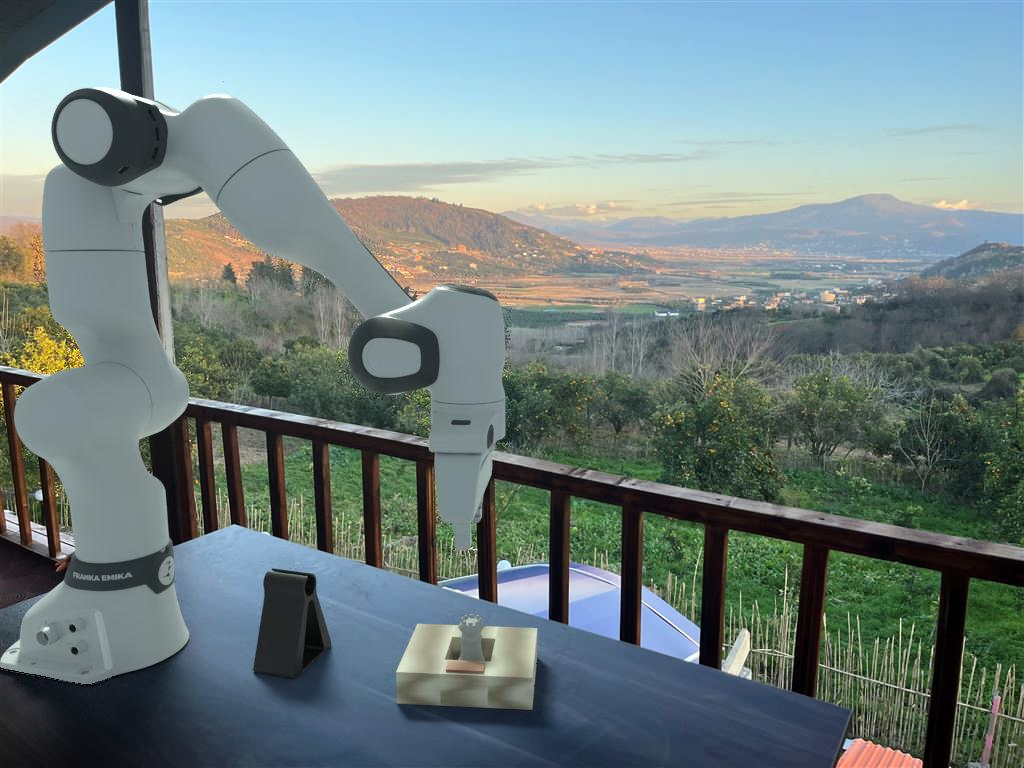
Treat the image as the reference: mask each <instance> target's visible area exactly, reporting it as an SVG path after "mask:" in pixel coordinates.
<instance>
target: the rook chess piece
mask: <svg viewBox="0 0 1024 768" xmlns="http://www.w3.org/2000/svg"><path fill="white" fill-rule="evenodd" d="M457 625H458V628H459V629H460V631H461V632H462V635H461V636H460V639H461V641H462V648H461V655H460V658H459V659H458V660H466V661H485V658H484V656H483V654H482V647H481V640H482V638H483V636H482V635H481V631H482V629H483V628H484V626H485V624H484V623H483V621H482V617H481V615H479V614H476V615H474V613H470V614H469V617H468V615H467V614H465V615H463V616H462V617H461V618H460V622H459V623H458V624H457Z"/></svg>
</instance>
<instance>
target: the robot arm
mask: <svg viewBox="0 0 1024 768" xmlns="http://www.w3.org/2000/svg"><path fill="white" fill-rule="evenodd" d="M50 129H51V131H50V133H51V140H52V145H53V148H54V150H55V152H56V154H57V156H58V157H59V159H60V161H61V163H60V164H58V165H56V166H54V167H53V168H52V169H51V170H50V171H48V173H47V175H46V177H45V180H44V186H43V191H42V192H43V193H42V194H43V195H42V204H41V205H42V207H41V231H42V232H41V233H42V235H41V237H42V248H43V258H44V266H45V267H44V268H45V275H46V285H47V293H48V302H49V309H50V313H51V315H52V317H53V319H54V321H55V322H56V323H58V324H59V326H60V327H61V326H62V328H64V329H65V330H67V331H68V332H69V334H70V335H71V336H72V338H73V339H74V340H75V343H76V345H77V346H78V349H79V351H80V354H81V357H82V359H83V364H84V366H83V365H82V366H78V367H77V366H76V367H73V368H72V367H71V368H67V369H62V370H59V371H57V372H55V373H52V374H51V375H48V376H46V377H44V378H43V379H40V380H39V381H37V382H35V383H33V384H31V385H29V386H28V387H27V388H26V389H25V390H24V391H22V393H20V396H19V397H18V399H17V401H16V404H15V407H14V412H13V417H14V418H13V419H14V420H13V421H14V427H15V431H16V433H17V435H18V437H19V438H20V440H21V442H22V443H23V445H24V446H26V448H27V449H28V450H29V451H31V453H33V454H35V455H36V456H37V457H39V458H42V459H44V460H45V461H46V462H47V463H49V464H50V466H51V467H52V468H53V470H54V471H55V473H56V474H57V477H58V478H59V480H60V482H61V484H62V487H63V488H64V489H63V490H64V491H65V494H66V498H67V501H68V505H69V506H68V507H69V513H70V519H71V520H70V521H71V527H72V535H73V544H74V551H73V552H71V553H69V554H68V555H66V557H65V558H63V559H62V560H60V561H59V562H57V563H55V566H59V567H57V569H56V570H55V571H56V572H60V571H62V570H63V569H65V568H67V569H66V572H65V576H64V579H63V580H62V581H61V582H60V583H59V584H58V585H56V586H55V587H54V588H52V589H51V590H50V591H49V592H48V593H46V594H45V595H44V596H43V597H42V598H40V599H39V600H38V601H37V602H35V603H34V604H33V605H32V606H31V607H30V608H29V609H28V610H27V612H25V615H24V616H23V618H22V621H21V626H20V633H19V639H18V640H17V641H16V642H14V643H13V644H12V645H11V646H10V647H8V649H6V650H5V652H4V653H3V654H2V656H1V657H0V667H1V668H4V669H9V670H15V671H19V672H24V673H29V674H36V675H41V676H46V677H50V678H49V679H51V678H54V679H53V680H56V679H59V680H58V681H62V680H63V682H67V681H68V683H72V682H75V683H74V684H78V683H81V684H80V685H83V684H91V685H93V684H92V683H95V682H98V681H101V682H103V681H105V679H106V680H108V679H110V678H112V676H113V677H115V676H117V675H122V674H126V673H129V672H133V671H137V670H140V669H144V668H148V667H150V666H153V665H155V664H157V663H160V662H162V661H164V660H167V659H168V658H169V657H171V656H174V655H175V654H176V653H177V652H179V651H180V650H182V648H184V647H185V645H186V644H187V643H188V642H189V639H190V632H189V630H188V629H189V628H188V627H187V626H186V623H185V620H184V617H183V615H182V614H183V613H182V612H181V608H180V604H179V601H178V597H177V591H176V587H175V577H176V576H175V575H176V573H175V572H176V571H175V570H176V565H175V563H176V562H175V553H174V552H175V550H174V544H173V540H172V538H170V533H169V522H168V520H169V519H168V505H167V496H166V488H165V486H164V484H163V483H162V481H161V480H160V479H159V478H157V477H156V476H154V475H152V474H150V473H149V471H148V469H147V467H146V465H145V462H144V460H143V458H142V454H141V450H140V445H139V444H140V440H142V439H144V438H147V437H148V436H149V437H150V436H153V435H154V434H157V433H159V432H161V431H163V430H165V429H166V428H168V427H169V426H171V425H172V423H174V422H175V421H176V420H177V419H178V418H179V417H181V415H183V413H184V412H185V411H186V409H187V407H188V404H189V401H190V395H191V394H190V393H191V392H190V386H189V382H188V380H187V378H186V375H185V373H183V371H182V370H181V369H180V368H179V367H178V366H177V365H176V364H175V363H173V361H172V360H171V359H170V357H169V356H168V353H167V351H166V350H165V349H166V348H165V347H164V344H163V342H162V339H161V336H160V333H159V332H158V329H157V325H156V323H155V319H154V316H153V312H152V307H151V299H150V291H149V290H150V289H149V281H148V273H147V271H148V270H147V263H146V253H145V243H144V235H143V215H144V212H145V210H146V209H147V207H148V206H149V205H150V204H151V203H154V204H155V205H158V206H161V207H166V206H168V205H170V204H173V203H175V202H178V201H180V200H183V199H187V198H190V197H193V196H196V195H199V194H201V193H203V192H204V193H205V194H207V196H208V198H209V199H210V200H211V201H212V202H213V204H214V205H215V206H216V207H217V209H218V210H219V211H220V212H221V214H222V215H223V217H224V218H225V219H226V220H227V221H228V222H229V224H231V226H232V227H233V228H234V229H235V230H236V231H237V232H238V233H239V234H240V235H242V236H243V237H244V238H245V239H247V241H248V242H250V243H251V244H252V245H253V246H254V247H256V248H258V249H259V250H260V251H262V252H264V253H266V254H269V255H272V256H275V257H278V258H281V259H284V260H287V261H291V262H294V263H296V264H299V265H302V267H303V266H304V267H306V268H308V269H310V270H313V271H315V272H316V273H318V274H320V275H321V276H323V277H324V278H326V279H327V280H328V281H330V282H331V283H332V284H333V286H335V287H336V288H337V289H338V290H339V291H340V292H341V293H342V294H343V296H344V297H346V299H348V301H349V303H351V304H352V306H354V308H355V309H356V310H357V311H358V312H359V313H360V315H362V316H363V318H364V319H365V320H364V322H361V324H359V325H358V326H357V328H356V329H355V330H354V332H353V333H352V334H351V337H350V340H349V343H348V347H347V359H348V364H349V367H350V371H351V372H352V375H353V376H354V377H355V379H356V381H357V382H358V383H359V384H361V385H362V387H364V388H365V389H367V390H369V391H370V392H373V393H375V394H378V395H387V396H393V395H394V396H395V395H402V394H404V393H407V392H413V391H418V390H426V391H429V393H430V429H429V434H428V450H429V452H431V453H434V480H435V489H436V500H437V501H436V502H437V509H438V515H439V517H440V520H441V521H442V522H443V523H451V527H452V532H453V535H454V548H455V549H456V550H457V551H465V552H466V551H469V550H470V549H471V547H472V543H473V541H472V538H473V537H472V536H473V534H472V533H473V532H472V523H477V524H478V523H479V522H481V519H482V518H483V502H484V494H485V491H486V488H487V487H488V484H489V482H490V479H491V476H492V471H493V452H495V450H496V449H495V448H496V443H497V442H498V441H500V440H503V439H504V438H505V436H506V391H505V388H504V385H503V371H504V367H505V365H506V364H505V363H506V335H505V333H506V332H505V324H504V323H505V321H504V316H503V315H504V314H503V309H502V306H501V303H500V300H499V299H498V298H497V296H495V295H494V294H493V293H492V292H490V291H489V290H487V289H483V288H479V287H475V286H471V285H466V284H457V283H447V282H445V283H441V284H437V285H435V287H434V288H433V289H432V290H430V291H429V292H428V293H426V294H425V295H423V296H422V297H420V298H418V299H415V298H414V297H413V296H412V295H410V294H409V293H408V292H407V291H406V290H405V289H404V288H403V287H402V286H401V284H400V283H399V282H398V281H397V280H396V278H394V277H393V276H392V274H391V273H390V272H389V271H388V270H387V268H386V267H385V266H384V265H383V264H382V263H381V262H380V261H379V260H378V259H377V257H376V256H375V255H374V254H373V252H372V251H370V250H369V248H368V247H367V246H366V245H365V244H364V243H363V242H362V240H361V239H359V237H358V236H357V235H356V234H355V233H354V232H353V230H352V229H351V227H350V226H349V225H348V223H347V222H346V221H345V219H344V218H343V216H342V215H341V214H340V212H338V210H337V209H336V208H335V207H334V205H333V204H332V202H331V201H330V200H329V199H328V197H327V196H326V194H325V193H324V191H323V190H322V189H321V187H320V186H319V184H318V182H316V180H315V178H313V176H312V175H311V173H310V172H309V171H308V170H307V168H306V167H305V166H304V164H303V163H302V162H301V160H300V159H299V157H297V155H296V154H295V153H294V152H293V151H292V149H291V148H290V147H289V146H288V145H287V144H286V142H285V141H284V140H283V139H282V137H280V136H279V135H278V133H277V132H275V131H274V129H272V127H270V125H268V124H267V122H265V121H264V120H263V118H261V117H260V116H259V115H258V114H257V113H256V112H255V111H253V110H252V109H251V108H250V107H249V106H247V105H246V104H245V103H244V102H242V101H241V100H240V99H238V98H236V97H234V96H232V95H229V94H225V93H223V94H221V93H216V94H210V95H206V96H203V97H201V98H199V99H197V100H196V101H194V102H192V103H191V104H190V105H189V106H187V108H185V109H184V110H183V111H180V110H179V109H177V108H175V107H172V106H171V105H169V104H166V103H164V102H161V101H158V100H156V99H152V98H146V97H145V98H144V97H141V96H137V95H132V94H130V93H128V92H125V91H123V90H119V89H115V88H108V87H82V88H79V89H76V90H73V91H72V92H70V93H68V94H67V95H65V96H64V97H63V99H61V101H60V102H59V104H58V105H56V108H55V111H54V113H53V116H52V120H51V128H50ZM19 672H18V673H19ZM24 673H23V674H24ZM29 674H28V675H29ZM107 678H108V679H107ZM102 680H103V681H102ZM98 683H99V682H98ZM95 684H96V683H95Z"/></svg>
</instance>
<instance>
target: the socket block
mask: <svg viewBox="0 0 1024 768" xmlns="http://www.w3.org/2000/svg"><path fill="white" fill-rule="evenodd" d="M458 625H459V624H456V625H455V624H437V623H436V624H435V623H434V624H433V623H417V624H416V626H415V629H414V631H413V633H412V635H411V637H410V639H409V642H408V644H407V647H406V649H405V651H404V652H403V655H402V657H401V659H400V662H399V665H398V666H397V669H396V673H395V679H396V680H395V681H396V704H398V705H400V704H401V705H419V706H420V705H421V706H441V707H442V706H443V707H445V706H446V707H464V708H465V707H466V708H482V709H483V708H484V709H485V708H486V709H489V708H490V709H505V710H506V709H509V710H510V709H511V710H529V711H533V706H534V695H535V686H534V685H536V684H535V683H536V673H537V664H536V663H538V662H537V661H538V628H537V627H536V628H535V627H516V626H515V627H514V626H512V627H511V626H488V625H487V626H485V625H484V628H483V629H482V631H481V635H482V636H483V638H482V640H481V647H482V654H483V656H484V658H485V661H466V660H458V659H459V658H460V655H461V648H462V641H461V639H460V636H461V635H462V632H461V631H460V629H459V628H458Z"/></svg>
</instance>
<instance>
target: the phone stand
mask: <svg viewBox="0 0 1024 768" xmlns="http://www.w3.org/2000/svg"><path fill="white" fill-rule="evenodd" d="M262 583H263V585H262V586H263V593H264V595H263V596H264V597H263V603H262V609H261V616H260V622H259V627H258V628H259V629H258V637H257V643H256V647H255V648H256V649H255V655H254V662H253V666H252V667H253V669H252V671H253V672H254V673H260V674H265V675H271V676H275V677H276V676H277V677H282V678H288V679H291V680H292V679H293V680H296V679H297V678H298V677H299V676H300V675H302V673H303V672H305V670H306V671H307V669H308V668H309V667H310V666H311V665H312V664H313V663H314V662H315V661H317V659H319V658H320V657H321V656H322V655H323V654H324V653H325V652H327V650H329V649H330V648H331V647H332V641H331V637H330V634H329V633H330V632H329V630H328V627H327V624H326V620H325V616H324V613H323V609H322V607H321V604H320V600H319V597H318V593H317V576H316V575H315V574H314V573H309V572H302V571H297V570H289V569H280V568H273V567H272V568H271V570H267V571H266V573H265V575H264V578H263V581H262Z"/></svg>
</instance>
